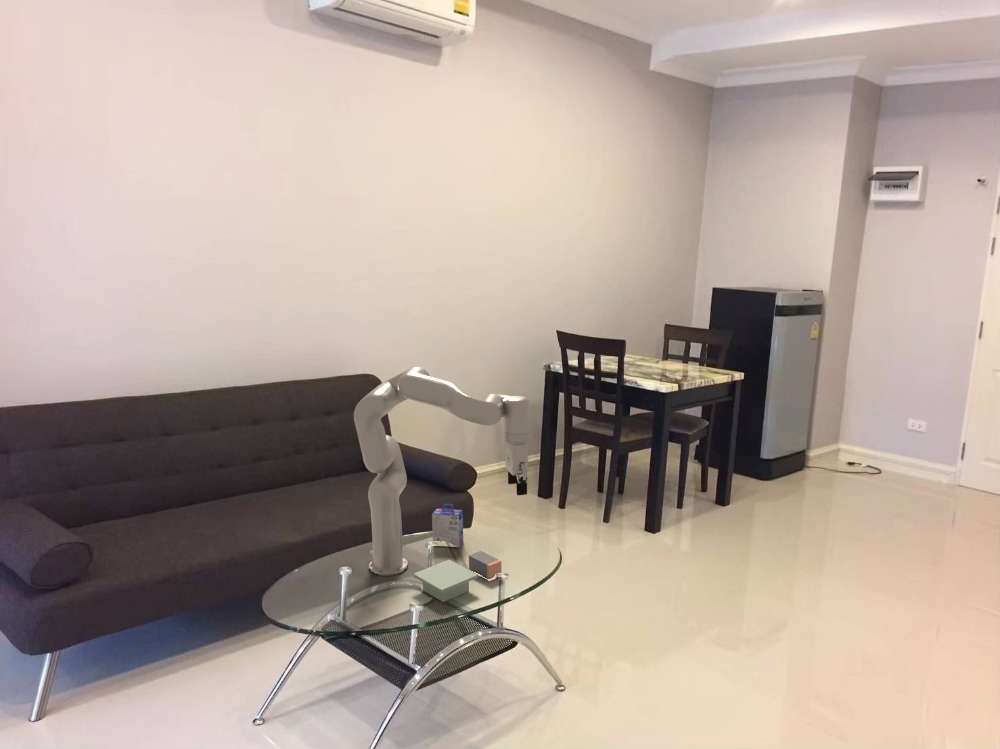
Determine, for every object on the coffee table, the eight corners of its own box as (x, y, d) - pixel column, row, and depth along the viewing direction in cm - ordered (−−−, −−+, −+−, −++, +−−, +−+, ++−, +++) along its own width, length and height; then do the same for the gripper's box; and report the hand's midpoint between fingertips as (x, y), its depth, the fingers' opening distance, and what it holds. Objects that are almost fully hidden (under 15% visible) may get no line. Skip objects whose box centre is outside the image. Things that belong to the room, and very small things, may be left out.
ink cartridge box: (464, 542, 280) (463, 503, 277) (460, 549, 275) (459, 509, 272) (436, 540, 282) (435, 501, 279) (432, 546, 277) (431, 507, 274)
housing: (469, 571, 260) (468, 555, 258) (480, 566, 263) (480, 550, 262) (489, 582, 252) (489, 565, 251) (501, 576, 256) (501, 560, 254)
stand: (413, 590, 248) (413, 573, 246) (449, 575, 257) (449, 559, 255) (442, 607, 237) (441, 590, 236) (478, 591, 247) (477, 574, 245)
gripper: (498, 429, 253) (498, 480, 257) (513, 446, 237) (513, 500, 241) (521, 427, 255) (521, 478, 259) (537, 443, 239) (537, 497, 243)
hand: (517, 489), depth 250 cm, fingers open, 9 cm apart
